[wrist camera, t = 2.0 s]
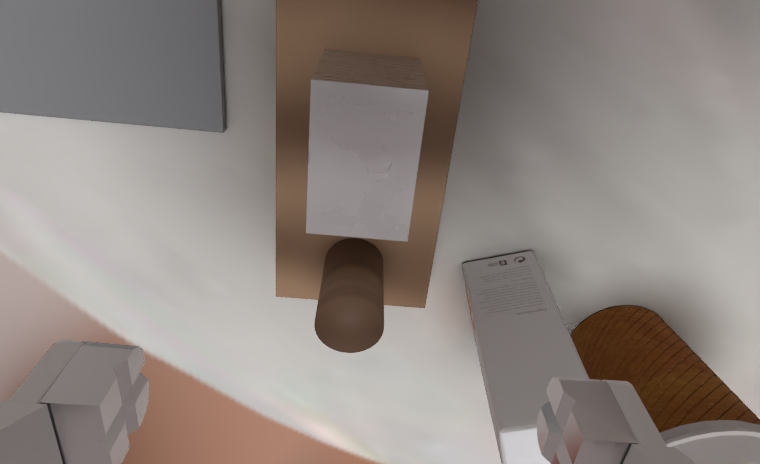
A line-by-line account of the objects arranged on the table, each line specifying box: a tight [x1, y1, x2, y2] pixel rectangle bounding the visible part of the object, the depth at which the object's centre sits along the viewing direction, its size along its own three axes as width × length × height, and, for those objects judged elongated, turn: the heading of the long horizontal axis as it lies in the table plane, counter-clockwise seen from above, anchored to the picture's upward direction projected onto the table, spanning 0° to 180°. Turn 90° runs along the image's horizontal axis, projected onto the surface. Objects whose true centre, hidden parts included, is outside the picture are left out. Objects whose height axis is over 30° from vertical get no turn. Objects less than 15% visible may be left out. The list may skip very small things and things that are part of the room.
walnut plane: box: [276, 0, 478, 353], centre depth 23 cm, size 20×8×8 cm, turn 175°
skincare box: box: [462, 251, 589, 464], centre depth 28 cm, size 6×4×12 cm
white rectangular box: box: [306, 49, 429, 242], centre depth 22 cm, size 6×4×5 cm, turn 175°
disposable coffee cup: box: [571, 306, 760, 464], centre depth 29 cm, size 10×10×12 cm
